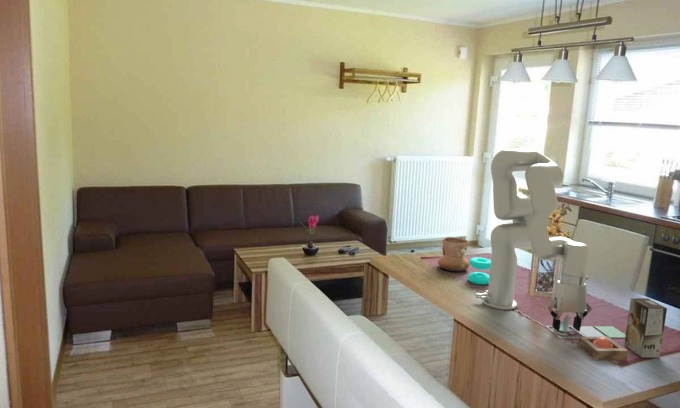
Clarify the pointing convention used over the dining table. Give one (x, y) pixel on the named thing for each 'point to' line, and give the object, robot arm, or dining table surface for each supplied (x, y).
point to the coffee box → (645, 327)
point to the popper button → (602, 343)
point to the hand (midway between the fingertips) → (566, 329)
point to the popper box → (602, 349)
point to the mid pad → (590, 332)
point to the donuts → (479, 276)
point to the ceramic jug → (454, 254)
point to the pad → (610, 331)
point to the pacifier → (564, 326)
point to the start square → (565, 337)
